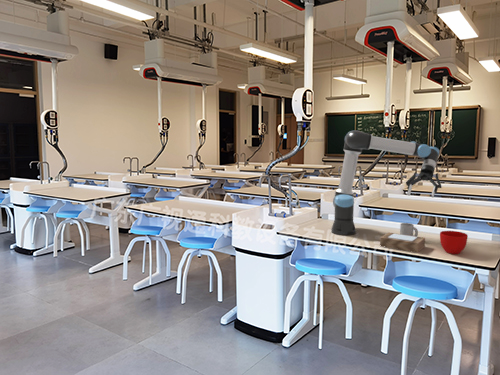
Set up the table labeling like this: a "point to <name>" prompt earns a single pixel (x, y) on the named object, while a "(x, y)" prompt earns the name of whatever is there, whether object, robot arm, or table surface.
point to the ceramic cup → (453, 241)
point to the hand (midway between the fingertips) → (420, 195)
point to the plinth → (402, 242)
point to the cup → (408, 229)
